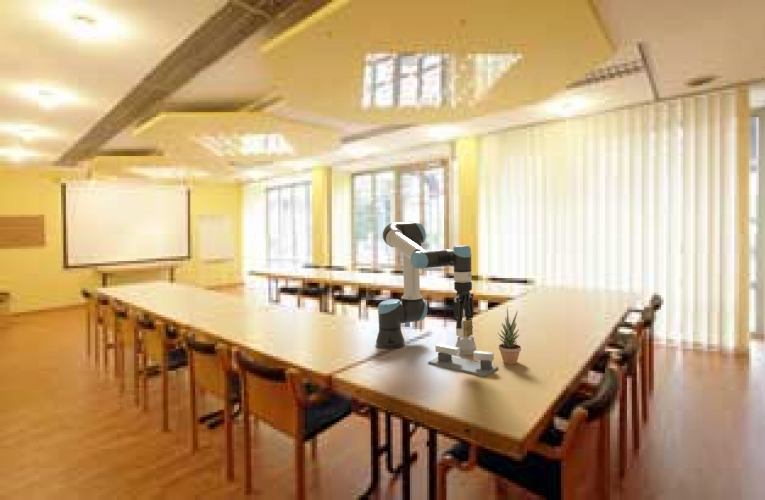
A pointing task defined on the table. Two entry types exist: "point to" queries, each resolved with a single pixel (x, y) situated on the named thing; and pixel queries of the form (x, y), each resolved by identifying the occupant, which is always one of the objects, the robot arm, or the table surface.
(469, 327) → the tan cardboard block
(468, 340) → the engine component
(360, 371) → the table surface
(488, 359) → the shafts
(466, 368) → the shaft bench
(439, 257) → the robot arm
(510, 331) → the potted plant
